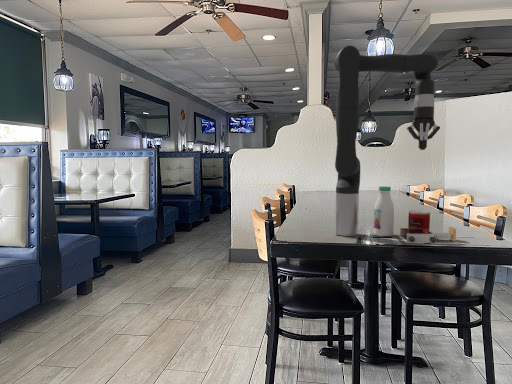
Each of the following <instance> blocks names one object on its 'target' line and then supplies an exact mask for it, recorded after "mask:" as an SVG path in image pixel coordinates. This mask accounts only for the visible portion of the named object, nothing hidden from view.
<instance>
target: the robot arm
mask: <svg viewBox="0 0 512 384" xmlns="http://www.w3.org/2000/svg"><path fill="white" fill-rule="evenodd" d="M438 65H439V60H438V58H437V56H436V55H433V54H430V53H419V54H417V53H416V54H400V53H398V54H397V53H391V54H390V53H386V54H377V55H361V53H360V51H359V49H358V48H357V47H356V46H354V45H345V46H344V47H342V48H341V49H340V50H339V51H338V53H337V54H336V56H335V58H334V61H333V66H334V67H335V69H336V71H338V73H339V74H338V75H339V83H338V85H339V86H338V91H337V96H336V102H335V129H336V150H335V151H336V152H335V161H334V162H335V163H334V168H335V171H336V173H337V182H336V186H335V210H334V233H335V235H336V236H343V237H345V236H346V237H355V236H358V235H359V207H360V206H359V203H360V186H361V185H360V184H361V162H360V159H359V158H358V157H357V149H356V148H357V147H356V145H357V144H356V143H357V142H356V141H357V135H358V130H359V124H360V123H359V122H360V91H359V90H360V89H359V77H360V73H361V72H363V73H365V72H380V73H381V72H382V73H395V74H407V73H411V72H413V77H414V78H413V79H414V84H415V86H414V87H415V89H414V91H415V92H414V101H413V102H414V103H413V120H412V122H411V123H412V124H411V125H409V126H407V127H406V130H407V131H408V133H409V134H410V135H411V137H413V139H414V140H417V141H418V149H419V151H425V150H426V149H427V146H428V145H427V144H428V140H431V139H433V138H434V136H435V135H436V134H437V133H438V132H439V130H440V129H441V126H439V125H437V124H436V122H435V119H434V118H435V115H434V114H435V83H434V81H433V80H432V77H431V74H432V73H433V72H434V71H435V70H436V69H437V67H438ZM414 129H415V130H416V131H417V133H416V132H415V130H414ZM431 129H432V131H431ZM430 131H431V132H430ZM429 132H430V133H429Z"/></svg>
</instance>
